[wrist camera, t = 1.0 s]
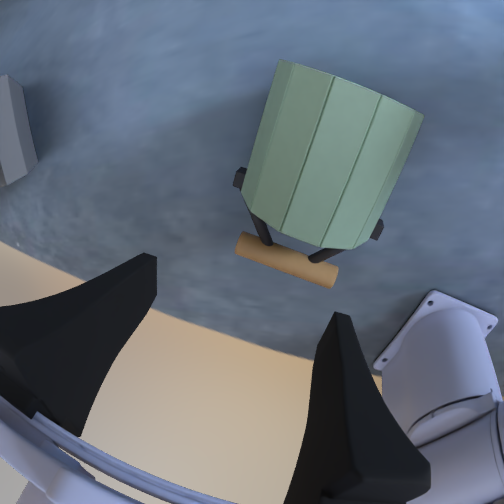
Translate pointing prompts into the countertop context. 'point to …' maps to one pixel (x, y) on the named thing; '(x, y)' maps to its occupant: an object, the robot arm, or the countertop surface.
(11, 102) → the grey box
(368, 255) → the countertop surface
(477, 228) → the countertop surface
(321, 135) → the bucket
